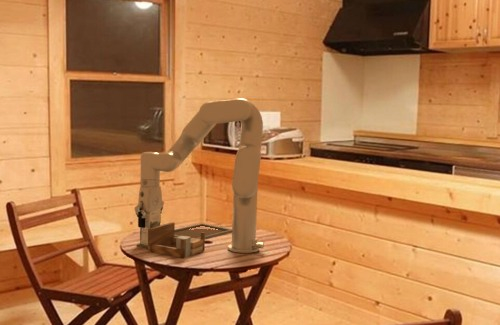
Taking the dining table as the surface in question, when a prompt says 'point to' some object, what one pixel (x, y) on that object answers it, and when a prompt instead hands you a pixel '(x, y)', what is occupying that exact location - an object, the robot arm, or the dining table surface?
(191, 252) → the offcut slab
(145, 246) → the mat
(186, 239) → the offcut block
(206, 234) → the brown framed board
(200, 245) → the offcut slab
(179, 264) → the dining table surface
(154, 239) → the brown wooden open box
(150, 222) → the syrup box
